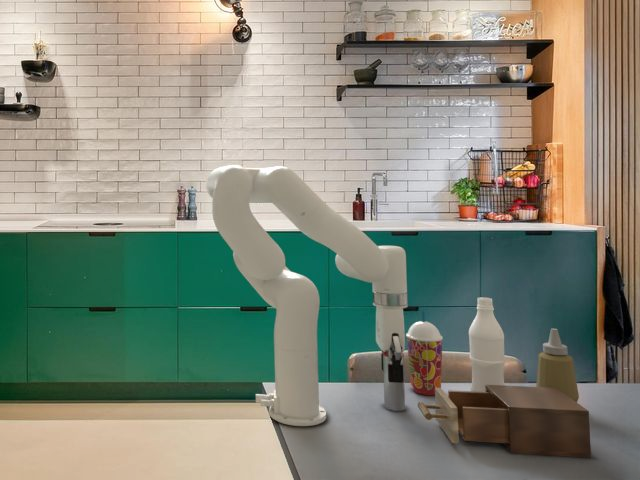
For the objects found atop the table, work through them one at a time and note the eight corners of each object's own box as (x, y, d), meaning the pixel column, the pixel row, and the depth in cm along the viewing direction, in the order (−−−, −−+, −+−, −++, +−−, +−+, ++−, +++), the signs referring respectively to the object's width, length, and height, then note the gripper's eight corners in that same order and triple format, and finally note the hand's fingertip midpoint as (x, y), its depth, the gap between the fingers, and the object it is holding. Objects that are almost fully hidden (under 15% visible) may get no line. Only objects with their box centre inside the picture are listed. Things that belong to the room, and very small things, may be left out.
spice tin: (386, 410, 128) (384, 355, 129) (382, 403, 133) (380, 350, 133) (407, 411, 127) (405, 356, 128) (403, 404, 132) (401, 350, 132)
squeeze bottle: (575, 405, 129) (571, 326, 130) (584, 418, 122) (580, 334, 123) (533, 400, 133) (530, 323, 133) (539, 413, 125) (536, 331, 126)
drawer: (429, 441, 110) (427, 406, 111) (415, 418, 121) (413, 386, 122) (522, 447, 107) (521, 411, 107) (499, 423, 118) (498, 390, 119)
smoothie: (403, 385, 145) (401, 306, 146) (438, 386, 144) (435, 307, 144) (413, 396, 136) (410, 313, 137) (449, 398, 135) (446, 314, 136)
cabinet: (511, 452, 107) (509, 406, 107) (486, 425, 119) (484, 384, 120) (591, 457, 104) (588, 410, 105) (557, 429, 117) (555, 387, 117)
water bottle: (512, 416, 124) (508, 302, 125) (477, 414, 125) (473, 301, 126) (500, 404, 131) (496, 296, 132) (466, 402, 132) (462, 295, 133)
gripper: (367, 292, 140) (369, 364, 140) (379, 306, 123) (382, 388, 123) (398, 293, 139) (401, 365, 138) (416, 307, 122) (419, 390, 121)
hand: (392, 375), depth 130 cm, fingers open, 7 cm apart
